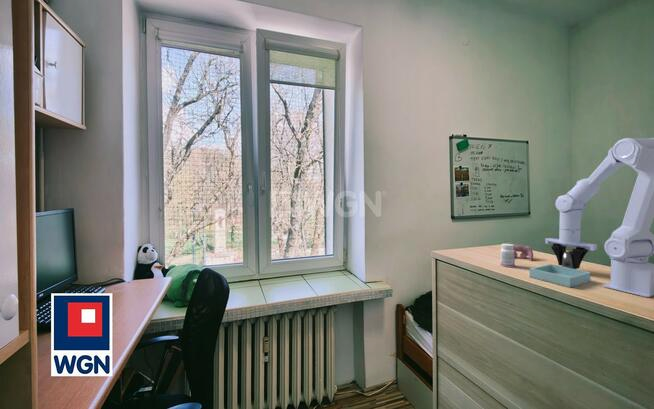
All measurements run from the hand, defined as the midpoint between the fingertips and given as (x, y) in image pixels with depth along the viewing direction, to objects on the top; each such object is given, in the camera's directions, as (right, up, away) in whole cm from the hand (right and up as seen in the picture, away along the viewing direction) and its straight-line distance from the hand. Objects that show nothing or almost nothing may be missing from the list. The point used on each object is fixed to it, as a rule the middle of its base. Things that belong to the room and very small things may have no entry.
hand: (568, 266), depth 100 cm
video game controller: (-5, -1, +20) cm, 20 cm away
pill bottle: (-16, -2, +10) cm, 19 cm away
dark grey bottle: (0, -2, 0) cm, 2 cm away
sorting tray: (-10, -3, -7) cm, 12 cm away
